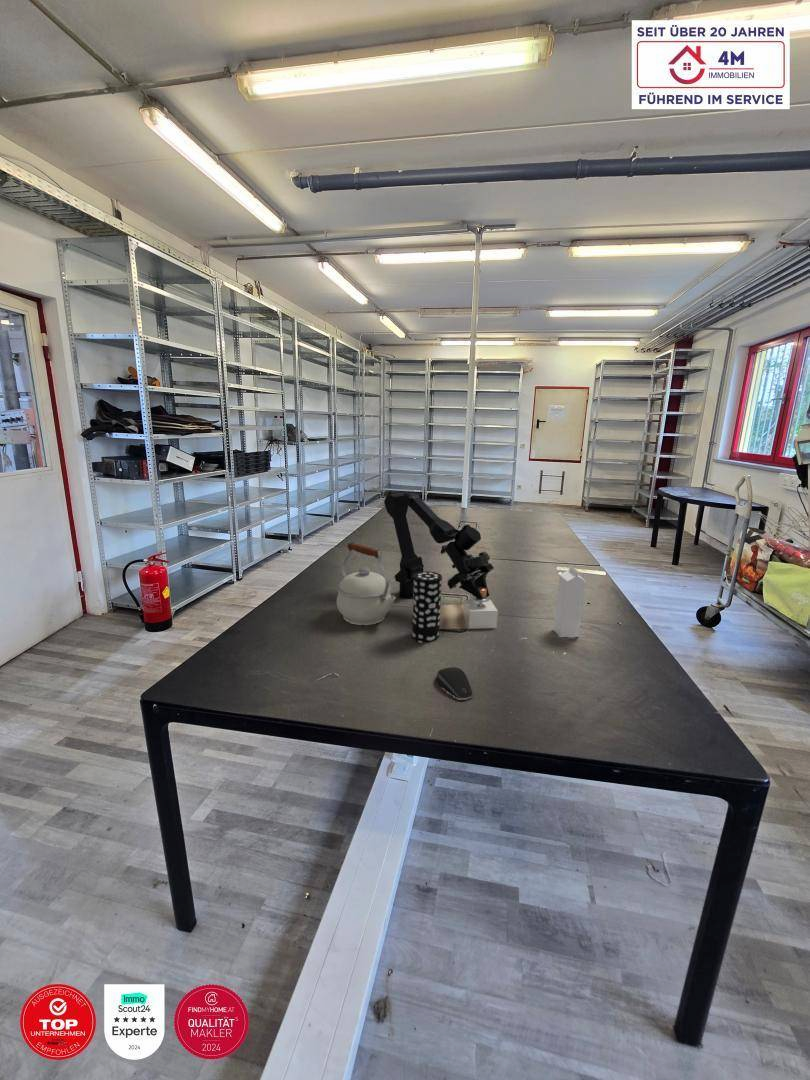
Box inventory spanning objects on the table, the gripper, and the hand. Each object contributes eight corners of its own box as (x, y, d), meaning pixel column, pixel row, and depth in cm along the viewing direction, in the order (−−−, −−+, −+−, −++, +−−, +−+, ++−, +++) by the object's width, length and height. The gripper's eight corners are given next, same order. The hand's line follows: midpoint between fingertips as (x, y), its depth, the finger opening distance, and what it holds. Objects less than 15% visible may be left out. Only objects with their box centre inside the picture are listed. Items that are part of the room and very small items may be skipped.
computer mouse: (454, 704, 104) (455, 689, 103) (431, 677, 115) (431, 663, 114) (479, 698, 107) (480, 683, 106) (454, 672, 117) (455, 658, 116)
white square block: (468, 628, 141) (470, 611, 139) (463, 616, 150) (464, 600, 148) (496, 628, 142) (497, 610, 140) (489, 616, 150) (490, 599, 149)
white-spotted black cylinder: (442, 634, 138) (445, 574, 133) (433, 646, 130) (435, 582, 125) (418, 628, 141) (420, 569, 136) (407, 639, 134) (409, 577, 129)
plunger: (473, 618, 142) (475, 592, 140) (470, 611, 147) (472, 586, 145) (489, 618, 143) (491, 591, 140) (485, 611, 148) (487, 586, 145)
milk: (570, 629, 143) (579, 565, 138) (578, 638, 137) (588, 571, 132) (552, 629, 143) (560, 564, 137) (559, 638, 137) (568, 571, 131)
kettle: (322, 615, 150) (320, 544, 143) (363, 600, 163) (362, 535, 156) (372, 640, 133) (373, 561, 127) (413, 621, 146) (415, 549, 140)
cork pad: (437, 630, 140) (437, 628, 140) (430, 606, 159) (430, 604, 159) (496, 629, 142) (496, 628, 142) (482, 605, 160) (482, 604, 160)
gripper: (456, 549, 135) (483, 593, 131) (491, 539, 148) (517, 579, 143) (436, 568, 143) (461, 610, 138) (470, 557, 156) (494, 594, 151)
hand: (484, 597), depth 142 cm, fingers closed on plunger, 3 cm apart
